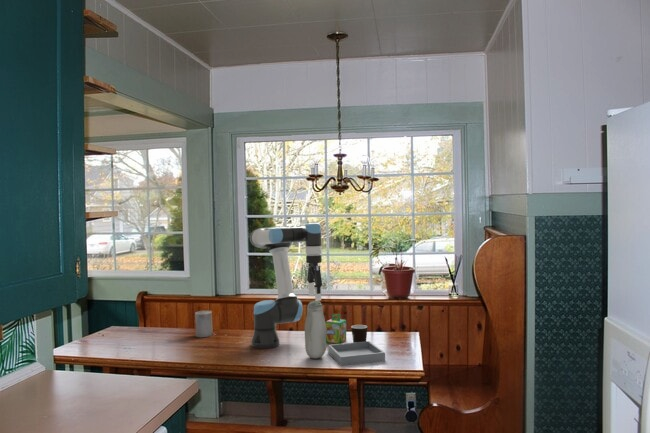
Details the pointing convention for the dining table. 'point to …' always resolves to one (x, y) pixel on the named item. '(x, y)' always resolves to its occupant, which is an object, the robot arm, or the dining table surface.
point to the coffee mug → (359, 333)
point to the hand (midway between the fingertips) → (314, 298)
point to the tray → (356, 353)
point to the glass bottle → (315, 330)
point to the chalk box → (336, 330)
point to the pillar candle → (203, 323)
